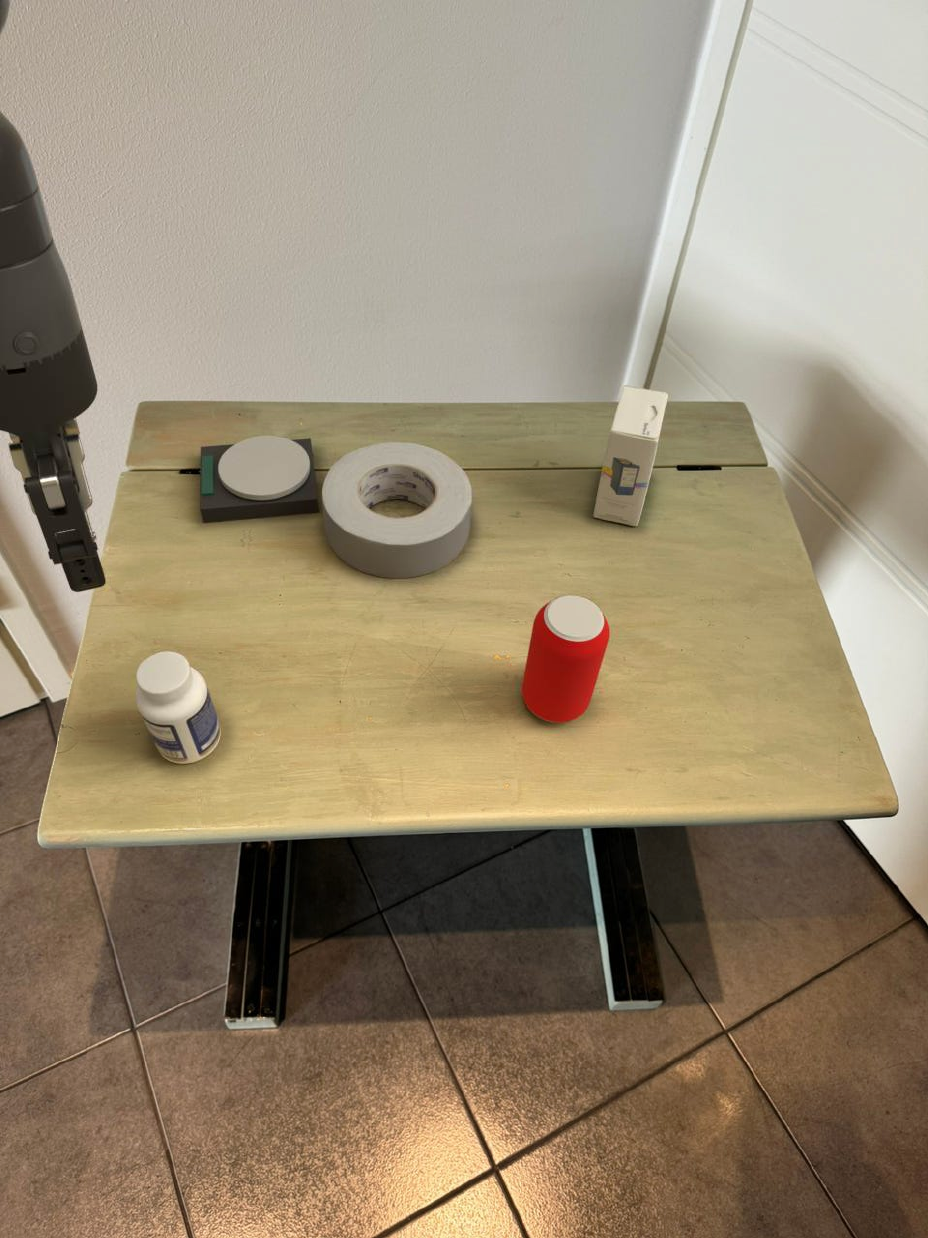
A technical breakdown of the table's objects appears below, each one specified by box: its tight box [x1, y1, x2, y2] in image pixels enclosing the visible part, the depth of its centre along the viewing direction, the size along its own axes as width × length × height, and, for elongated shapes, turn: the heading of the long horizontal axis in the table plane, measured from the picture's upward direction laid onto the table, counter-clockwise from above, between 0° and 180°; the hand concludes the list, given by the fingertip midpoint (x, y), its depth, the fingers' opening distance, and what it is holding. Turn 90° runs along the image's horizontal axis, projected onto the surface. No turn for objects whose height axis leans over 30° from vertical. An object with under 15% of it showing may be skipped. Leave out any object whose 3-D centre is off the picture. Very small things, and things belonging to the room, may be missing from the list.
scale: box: [199, 435, 320, 524], centre depth 90 cm, size 12×10×3 cm
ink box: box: [593, 384, 669, 527], centre depth 88 cm, size 9×5×12 cm, turn 164°
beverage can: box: [521, 594, 611, 723], centre depth 71 cm, size 6×6×12 cm
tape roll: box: [321, 441, 473, 579], centre depth 86 cm, size 15×15×5 cm
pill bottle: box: [135, 650, 222, 765], centre depth 67 cm, size 5×5×10 cm
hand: (81, 545), depth 58 cm, fingers open, 8 cm apart
